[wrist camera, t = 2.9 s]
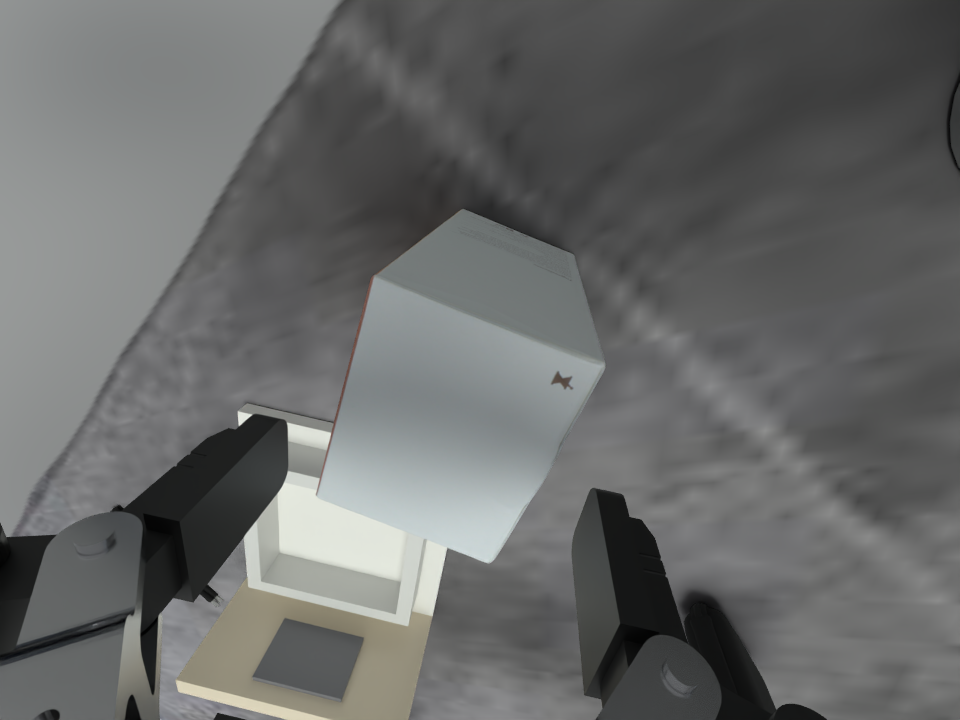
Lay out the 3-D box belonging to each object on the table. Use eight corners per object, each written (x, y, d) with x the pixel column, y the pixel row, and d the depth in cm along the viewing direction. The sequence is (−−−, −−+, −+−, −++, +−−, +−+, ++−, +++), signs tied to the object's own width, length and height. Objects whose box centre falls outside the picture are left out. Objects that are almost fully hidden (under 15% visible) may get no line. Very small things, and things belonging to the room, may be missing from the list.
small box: (460, 205, 22) (369, 266, 10) (577, 253, 22) (617, 365, 11) (415, 342, 26) (309, 502, 14) (516, 381, 26) (495, 571, 14)
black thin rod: (227, 597, 39) (220, 607, 38) (220, 599, 40) (212, 610, 39) (123, 502, 35) (112, 511, 34) (116, 506, 36) (105, 515, 35)
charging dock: (247, 403, 29) (133, 499, 21) (467, 454, 28) (438, 573, 20) (258, 572, 37) (178, 691, 28) (432, 615, 36) (401, 748, 28)
